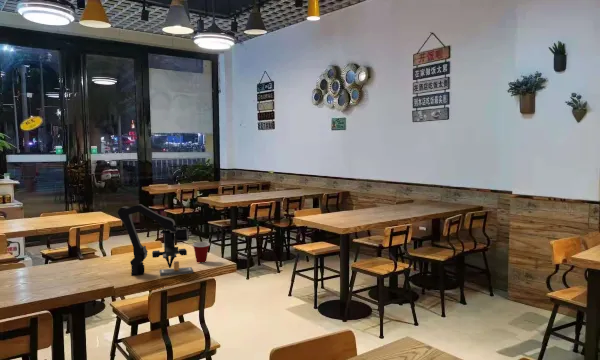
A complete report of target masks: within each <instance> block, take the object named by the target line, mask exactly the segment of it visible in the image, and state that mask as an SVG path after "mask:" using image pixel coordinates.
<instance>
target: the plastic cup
mask: <svg viewBox="0 0 600 360" xmlns="http://www.w3.org/2000/svg"><path fill="white" fill-rule="evenodd" d="M192 246H193V249H194V255H195V260H196V263H197V262H205V261H206V262H207V258H208V251H209V247H210V246H211V242H208V241H197V242H193V243H192ZM206 262H205V263H206Z"/></svg>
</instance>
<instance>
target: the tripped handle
mask: <svg viewBox="0 0 600 360" xmlns="http://www.w3.org/2000/svg"><path fill="white" fill-rule="evenodd" d="M179 268H180V262H179V260H173V269H174V271H177V270H179Z"/></svg>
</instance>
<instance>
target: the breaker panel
mask: <svg viewBox="0 0 600 360" xmlns="http://www.w3.org/2000/svg"><path fill="white" fill-rule="evenodd" d="M187 274H194V270H193V267H192V266H191V267H190V266H189V267H179V270H177V271H174V268H165V269H159V276H160V277H163V276H174V275H175V276H177V275H187Z"/></svg>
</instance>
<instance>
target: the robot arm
mask: <svg viewBox="0 0 600 360" xmlns="http://www.w3.org/2000/svg"><path fill="white" fill-rule="evenodd" d="M136 213H140V214H141V215H144V216H146V218H147V217H148V218H149V219H151V220H153V221H154V222H156V223H158V224H159V225H160V226H161V227H162V228H163V229H162V230H161V231H160V232H159V233H160V234H163V243H164V244H163V251H160V250H152V252H151V256H152V258H153V259H154V258H155V259H156V258H159V257H160V256H162V259H165V261H166V262H167V266H168V269H172V264H173V263H174V261H175V258H177V255H179V256H187V255H188V251H187V249H186V248H179V246H176V245H175V243H176V242H175V240H176V241H177V242H178V241H179V242H182V241H184V242H185V241H188V240H189V233H188V228H179V227H178V226H177V225H176V222H175V220H174V219H173V218H171V217H167V216H163V215H161V214H159V213H157V212H155V211H154V210H152V209H150V208H148V207H147V206H144V205H143V204H141V203H140V204H137V205H132V206H127V205H126V206H122V207H120V208H119V209H118V210H117V215H118V217H119V219H120V220H121V221H122V223H123V225H124V226H125V229H126V232H127V235H128V236H129V239H130V242H131V244H132V250H133V258H132V259H131V260H130V261H129V263H130V265H131V266H130V267H131V272H130V273H131V276H132V277H133V276H144V274H145V264H144V260H145V259H146V258H147V257H148V252H149V251H148V250H147V247H146V245H144V246H143V245H142V243H141V240H140V238H139V235H138V232H137V230H136V227H135V225H134V221H133V214H136Z"/></svg>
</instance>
